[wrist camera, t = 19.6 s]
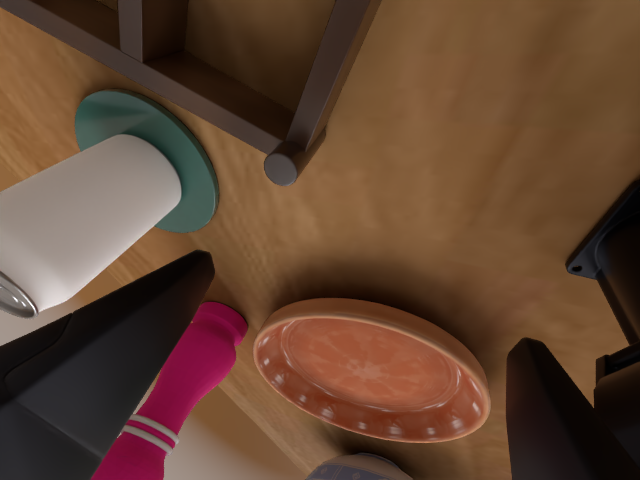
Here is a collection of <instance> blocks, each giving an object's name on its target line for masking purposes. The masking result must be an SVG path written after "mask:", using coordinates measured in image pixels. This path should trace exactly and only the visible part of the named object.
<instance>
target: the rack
mask: <svg viewBox="0 0 640 480" xmlns="http://www.w3.org/2000/svg"><path fill="white" fill-rule="evenodd" d="M381 1H382V0H336V2H335V4H334V7H333V10H332V13H331V16H330V18H329V21H328V24H327V27H326V29H325V32H324V35H323V38H322V40H321V43H320V46H319V49H318V51H317V54H316V57H315V60H314V62H313V65H312V68H311V71H310V74H309V76H308V79H307V82H306V85H305V87H304V90H303V93H302V96H301V98H300V101H299V104H298V107H297V109H296V112H295V113H294V112H292V111H290V110H289V109H287V108H285V107H283V106H281V105H280V104H278V103H276V102H274V101H273V100H271V99H269V98H267V97H266V96H264V95H262V94H260V93H258V92H257V91H255V90H253V89H251V88H250V87H248V86H246V85H244V84H243V83H241V82H239V81H237V80H235V79H234V78H232V77H230V76H228V75H227V74H225V73H223V72H221V71H219V70H218V69H216V68H214V67H212V66H211V65H209V64H207V63H205V62H204V61H202V60H200V59H198V58H196V57H195V56H193V55H191V54H189V53H188V52H186V51H184V46H185V34H186V21H187V8H188V0H118V13H117V12H115V11H113V10H111V9H110V8H108V7H106V6H104V5H103V4H101V3H99V2H97V1H95V0H0V7H1V8H3V9H5V10H7V11H8V12H10V13H12V14H14V15H16V16H17V17H19V18H21V19H23V20H25V21H26V22H28V23H30V24H32V25H34V26H36V27H37V28H39V29H41V30H43V31H45V32H46V33H48V34H50V35H52V36H54V37H55V38H57V39H59V40H61V41H63V42H64V43H66V44H68V45H70V46H72V47H74V48H75V49H77V50H79V51H81V52H83V53H84V54H86V55H88V56H90V57H92V58H93V59H95V60H97V61H99V62H101V63H103V64H104V65H106V66H108V67H110V68H112V69H113V70H115V71H117V72H119V73H121V74H122V75H124V76H126V77H128V78H130V79H131V80H133V81H135V82H137V83H139V84H141V85H142V86H144V87H146V88H148V89H150V90H151V91H153V92H155V93H157V94H159V95H160V96H162V97H164V98H166V99H168V100H170V101H171V102H173V103H175V104H177V105H179V106H180V107H182V108H184V109H186V110H188V111H189V112H191V113H193V114H195V115H197V116H199V117H200V118H202V119H204V120H206V121H208V122H209V123H211V124H213V125H215V126H217V127H218V128H220V129H222V130H224V131H226V132H227V133H229V134H231V135H233V136H235V137H237V138H238V139H240V140H242V141H244V142H246V143H247V144H249V145H251V146H253V147H255V148H256V149H258V150H260V151H262V152H264V153H266V154H267V155H268V156H267V157H266V159H265V161H264V170H265V173H266V175H267V176H268V178H269V179H270V180H271V181H272V182H274V183H275V184H277V185H281V186H288V185H291V184H293V183H294V182H295V181H296V180H297V178H298V177H299V175H300V174H301V172H302V171H303V170H304V168H305V167H306V165H307V164H308V163H309V161H310V160H311V158H312V157H313V156H314V154H315V153H316V151H317V150H318V149H319V147H320V146H321V144H322V143H323V141H324V139H325V130H324V127H325V125H326V123H327V121H328V119H329V116H330V114H331V112H332V110H333V107H334V105H335V103H336V101H337V99H338V96H339V94H340V92H341V90H342V87H343V85H344V83H345V81H346V79H347V76H348V74H349V72H350V70H351V67H352V65H353V63H354V61H355V59H356V56H357V54H358V52H359V50H360V47H361V45H362V43H363V41H364V39H365V36H366V34H367V32H368V30H369V27H370V25H371V23H372V21H373V19H374V16H375V14H376V12H377V10H378V7H379V5H380V3H381Z"/></svg>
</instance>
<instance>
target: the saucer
mask: <svg viewBox="0 0 640 480" xmlns="http://www.w3.org/2000/svg"><path fill="white" fill-rule="evenodd" d="M253 357H254V361H255V364H256V366H257V368H258V370H259V371H260V373H261V375H262V376H263V378H264V379H265V380H266V381H267V382H268V383H269V385H270V386H271V387H272V388H273V389H275V390H276V391H277V392H278V393H279V394H280V395H282V396H283V397H284V398H285V399H287V400H288V401H290V402H291V403H293V404H294V405H296V406H297V407H299V408H300V409H302V410H304V411H306V412H307V413H309V414H311V415H313V416H315V417H317V418H319V419H321V420H324V421H326V422H328V423H331V424H333V425H335V426H338V427H341V428H343V429H346V430H350V431H353V432H356V433H359V434H363V435H367V436H371V437H375V438H380V439H386V440H392V441H399V442H412V443H432V442H443V441H449V440H454V439H457V438H461V437H464V436H466V435H468V434H470V433H472V432H474V431H475V430H477V429H478V428H479V427H481V426H482V425H483V423H484V422H485V421H486V419H487V417H488V415H489V413H490V409H491V399H490V393H489V388H488V383H487V379H486V375H485V373H484V371H483V369H482V367H481V365H480V364H479V362H478V361H477V359H476V358H475V357H474V355H473V354H472V353H471V352H470V351H469V350H468V349H467V348H466V347H465V346H464V345H463V344H462V343H461V342H460V341H458V340H457V339H456V338H454V337H453V336H452V335H450V334H449V333H447V332H446V331H444V330H443V329H441V328H440V327H438V326H436V325H434V324H433V323H431V322H429V321H427V320H425V319H422V318H420V317H418V316H415V315H413V314H410V313H408V312H405V311H402V310H399V309H396V308H393V307H390V306H386V305H383V304H379V303H374V302H369V301H363V300H356V299H346V298H318V299H309V300H304V301H299V302H295V303H292V304H289V305H287V306H284V307H282V308H280V309H279V310H277V311H276V312H274V313H273V314H272V315H270V316H269V317H268V318H267V320H266V321H265V322H264V324H263V326H262V327H261V329H260V331H259V333H258V334H257V336H256V339H255V342H254V345H253Z"/></svg>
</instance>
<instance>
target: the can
mask: <svg viewBox="0 0 640 480" xmlns="http://www.w3.org/2000/svg"><path fill="white" fill-rule="evenodd" d="M180 199H181V182H180V179H179V176H178V173H177V171H176V169H175V168H174V166H173V164H172V163H171V162H170V160H169V159H168V158H167V157H166V156H165V155H164V154H163V153H162V152H161V151H160V150H159V149H158V148H157V147H155V146H154V145H152V144H151V143H149V142H147V141H146V140H143V139H141V138H138V137H135V136H132V135H126V134H120V135H116V136H113V137H111V138H109V139H106V140H104V141H102V142H100V143H98V144H96V145H94V146H92V147H90V148H88V149H86V150H84V151H82V152H80V153H78V154H76V155H74V156H72V157H70V158H68V159H65V160H63V161H61V162H59V163H57V164H55V165H53V166H51V167H49V168H47V169H45V170H43V171H41V172H39V173H37V174H35V175H33V176H31V177H29V178H27V179H25V180H23V181H21V182H19V183H17V184H15V185H13V186H11V187H9V188H7V189H5V190H3V191H1V192H0V309H1V310H3V311H5V312H7V313H9V314H12V315H15V316H17V317H21V318H25V319H34V318H36V317H37V316H38V313H39V312H40V311H42V310H44V309H47V308H49V307H53V306H55V305H58V304H61V303H63V302H65V301H67V300H68V299H70V298H71V297H72V296H74V295H75V294H76V293H77V292H78V291H80V290H81V289H82V288H83V287H84V286H85V285H87V284H88V283H89V282H90V281H91V280H92V279H93V278H95V277H96V276H97V275H98V274H99V273H100V272H102V271H103V270H104V269H105V268H106V267H107V266H109V265H110V264H111V263H112V262H113V261H114V260H115V259H117V258H118V257H119V256H120V255H121V254H122V253H123V252H125V251H126V250H127V249H128V248H129V247H130V246H131V245H133V244H134V243H135V242H136V241H137V240H138V239H139V238H141V237H142V236H143V235H144V234H145V233H146V232H147V231H149V230H150V229H151V228H152V227H153V226H154V225H155V224H157V223H158V222H159V221H160V220H161V219H162V218H163V217H164V216H166V215H167V214H168V213H169V212H170V211H171V210H172V209H173V208H174V207H175V206H176V205H177V204H178V203H179V201H180Z"/></svg>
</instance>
